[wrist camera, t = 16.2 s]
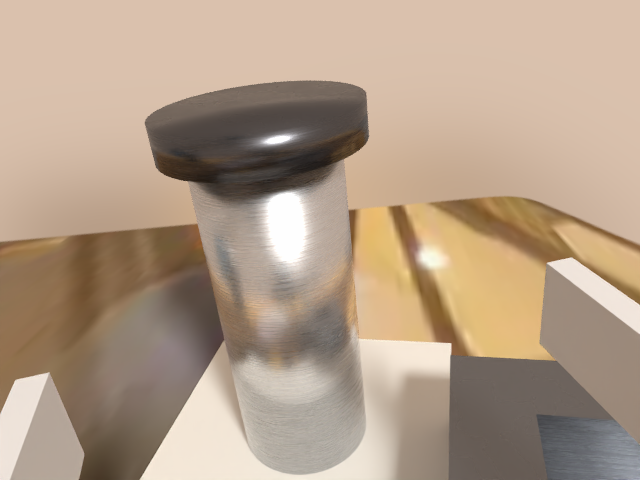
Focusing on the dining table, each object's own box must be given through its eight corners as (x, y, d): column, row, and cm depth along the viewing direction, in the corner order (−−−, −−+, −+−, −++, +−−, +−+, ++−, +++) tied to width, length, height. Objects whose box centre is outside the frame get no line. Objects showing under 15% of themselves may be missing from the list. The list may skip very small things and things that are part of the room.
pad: (113, 549, 23) (106, 534, 22) (231, 344, 35) (228, 332, 35) (448, 604, 19) (448, 588, 19) (451, 356, 32) (451, 343, 31)
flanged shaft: (200, 481, 24) (98, 141, 17) (257, 365, 31) (201, 86, 24) (375, 505, 22) (343, 131, 15) (394, 375, 29) (379, 75, 22)
